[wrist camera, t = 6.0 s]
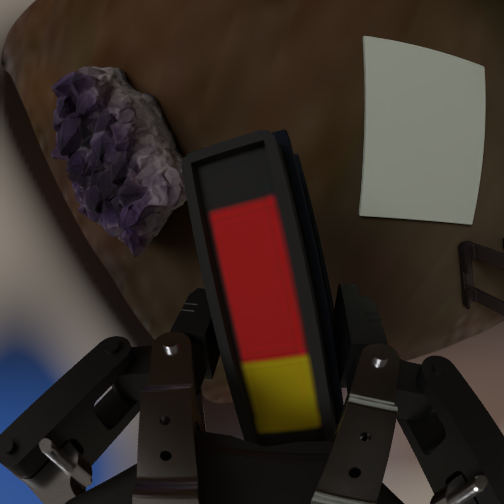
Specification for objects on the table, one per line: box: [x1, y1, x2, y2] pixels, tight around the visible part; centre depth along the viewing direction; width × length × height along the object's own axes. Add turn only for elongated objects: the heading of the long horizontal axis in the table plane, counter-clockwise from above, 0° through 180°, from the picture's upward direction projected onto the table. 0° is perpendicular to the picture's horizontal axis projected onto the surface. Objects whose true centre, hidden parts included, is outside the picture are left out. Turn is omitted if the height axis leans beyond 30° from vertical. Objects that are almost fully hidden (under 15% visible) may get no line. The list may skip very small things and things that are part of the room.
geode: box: [51, 65, 187, 257], centre depth 25 cm, size 20×12×10 cm, turn 29°
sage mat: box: [359, 36, 486, 225], centre depth 23 cm, size 18×14×1 cm
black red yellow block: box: [181, 130, 344, 446], centre depth 16 cm, size 4×13×15 cm, turn 17°
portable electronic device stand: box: [458, 238, 504, 316], centre depth 25 cm, size 9×8×8 cm
